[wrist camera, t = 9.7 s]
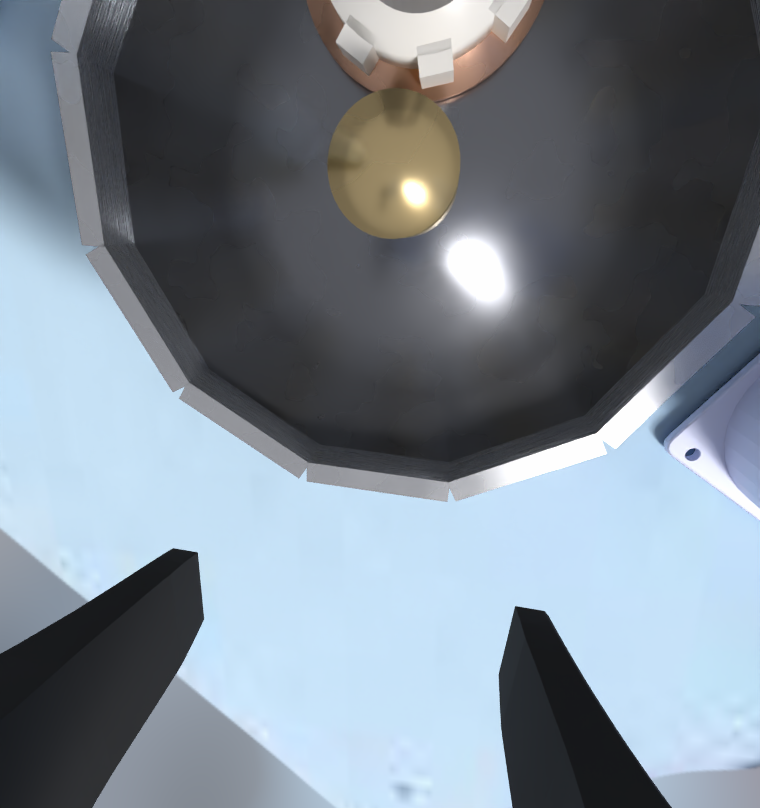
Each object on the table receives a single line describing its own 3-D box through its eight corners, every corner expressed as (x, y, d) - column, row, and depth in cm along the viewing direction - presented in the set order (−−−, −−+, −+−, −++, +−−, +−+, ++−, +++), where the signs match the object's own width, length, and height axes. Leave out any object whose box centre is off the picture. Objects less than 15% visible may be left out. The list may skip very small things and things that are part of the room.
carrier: (930, 70, 12) (1215, -26, 8) (463, 539, 20) (466, 631, 15) (310, -483, 11) (199, -1041, 6) (58, 265, 18) (-75, 277, 14)
